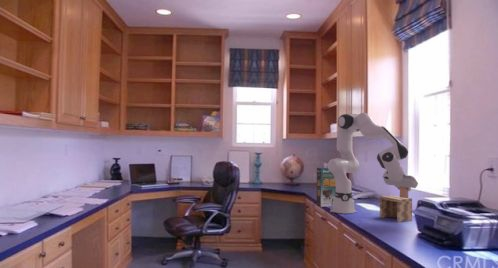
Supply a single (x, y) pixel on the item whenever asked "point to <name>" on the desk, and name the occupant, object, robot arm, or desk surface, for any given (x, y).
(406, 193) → the peach rounded capsule
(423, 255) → the desk surface
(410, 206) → the wooden shelf
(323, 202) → the cake mix box
